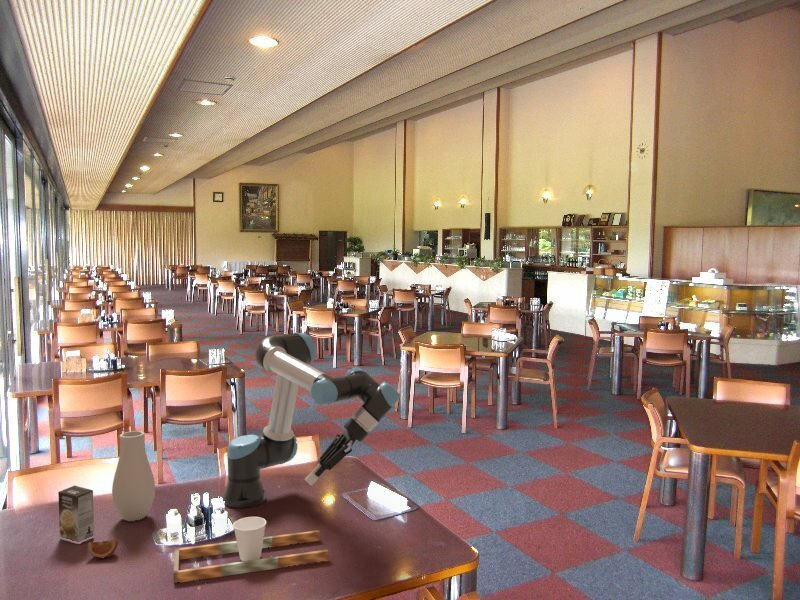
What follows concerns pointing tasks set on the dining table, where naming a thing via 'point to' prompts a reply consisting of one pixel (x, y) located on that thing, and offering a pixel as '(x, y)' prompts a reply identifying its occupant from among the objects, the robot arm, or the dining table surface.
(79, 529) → the coffee box
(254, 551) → the cup
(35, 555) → the dining table surface
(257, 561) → the track
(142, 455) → the vase
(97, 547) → the fruit slice
